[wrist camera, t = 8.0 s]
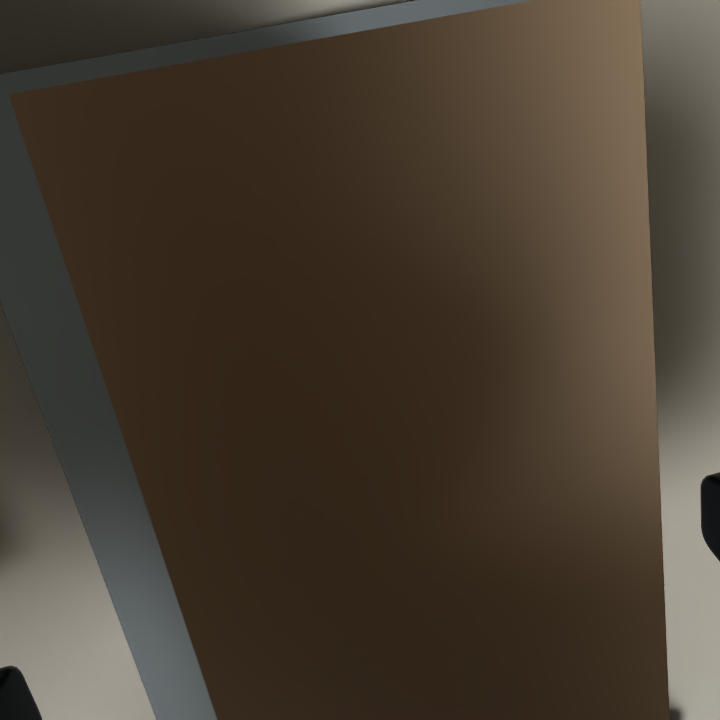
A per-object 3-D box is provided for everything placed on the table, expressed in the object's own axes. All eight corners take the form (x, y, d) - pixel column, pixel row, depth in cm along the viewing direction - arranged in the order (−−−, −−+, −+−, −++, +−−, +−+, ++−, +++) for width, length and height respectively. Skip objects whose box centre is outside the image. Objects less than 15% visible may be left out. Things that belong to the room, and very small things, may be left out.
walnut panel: (383, 89, 9) (640, -20, 3) (489, 751, 13) (689, 1225, 7) (157, 131, 9) (8, 92, 3) (337, 799, 12) (422, 1334, 7)
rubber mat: (534, -17, 9) (547, -23, 9) (600, 737, 14) (610, 754, 13) (-66, 91, 8) (-81, 88, 8) (216, 857, 13) (216, 878, 13)
